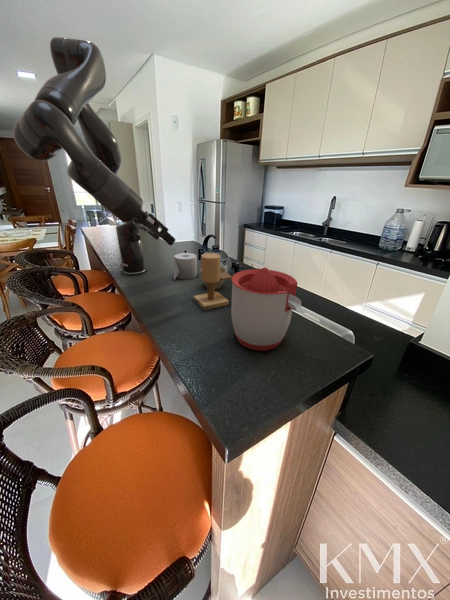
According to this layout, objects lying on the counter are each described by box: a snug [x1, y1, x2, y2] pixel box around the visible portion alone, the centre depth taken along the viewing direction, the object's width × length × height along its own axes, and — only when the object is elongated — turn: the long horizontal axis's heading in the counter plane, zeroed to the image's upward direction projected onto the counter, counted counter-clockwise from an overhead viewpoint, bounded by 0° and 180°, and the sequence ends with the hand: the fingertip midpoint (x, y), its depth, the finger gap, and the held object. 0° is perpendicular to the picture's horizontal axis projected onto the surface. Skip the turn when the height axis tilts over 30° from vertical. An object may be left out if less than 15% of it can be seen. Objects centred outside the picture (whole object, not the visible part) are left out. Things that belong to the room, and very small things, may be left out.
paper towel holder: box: [193, 282, 230, 311], centre depth 82 cm, size 9×9×16 cm
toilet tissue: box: [173, 252, 198, 281], centre depth 105 cm, size 9×13×9 cm
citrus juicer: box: [230, 267, 302, 352], centre depth 62 cm, size 16×17×20 cm
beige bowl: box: [200, 265, 228, 290], centre depth 96 cm, size 10×10×7 cm
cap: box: [200, 252, 233, 283], centre depth 81 cm, size 10×6×8 cm, turn 119°
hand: (165, 239), depth 70 cm, fingers open, 8 cm apart
